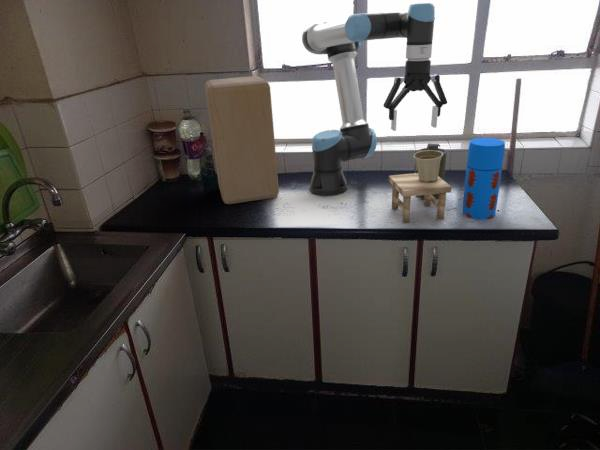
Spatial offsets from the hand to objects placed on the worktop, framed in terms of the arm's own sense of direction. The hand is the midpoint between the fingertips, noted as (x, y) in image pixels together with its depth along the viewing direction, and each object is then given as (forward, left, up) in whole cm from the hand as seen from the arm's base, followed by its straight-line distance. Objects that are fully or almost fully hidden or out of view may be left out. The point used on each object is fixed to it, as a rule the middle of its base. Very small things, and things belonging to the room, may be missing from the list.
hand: (413, 128), depth 144 cm
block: (-33, -57, -30) cm, 73 cm away
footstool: (+3, +2, -30) cm, 30 cm away
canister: (-12, +12, -30) cm, 34 cm away
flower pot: (+2, +5, -18) cm, 18 cm away
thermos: (+8, +22, -30) cm, 38 cm away
